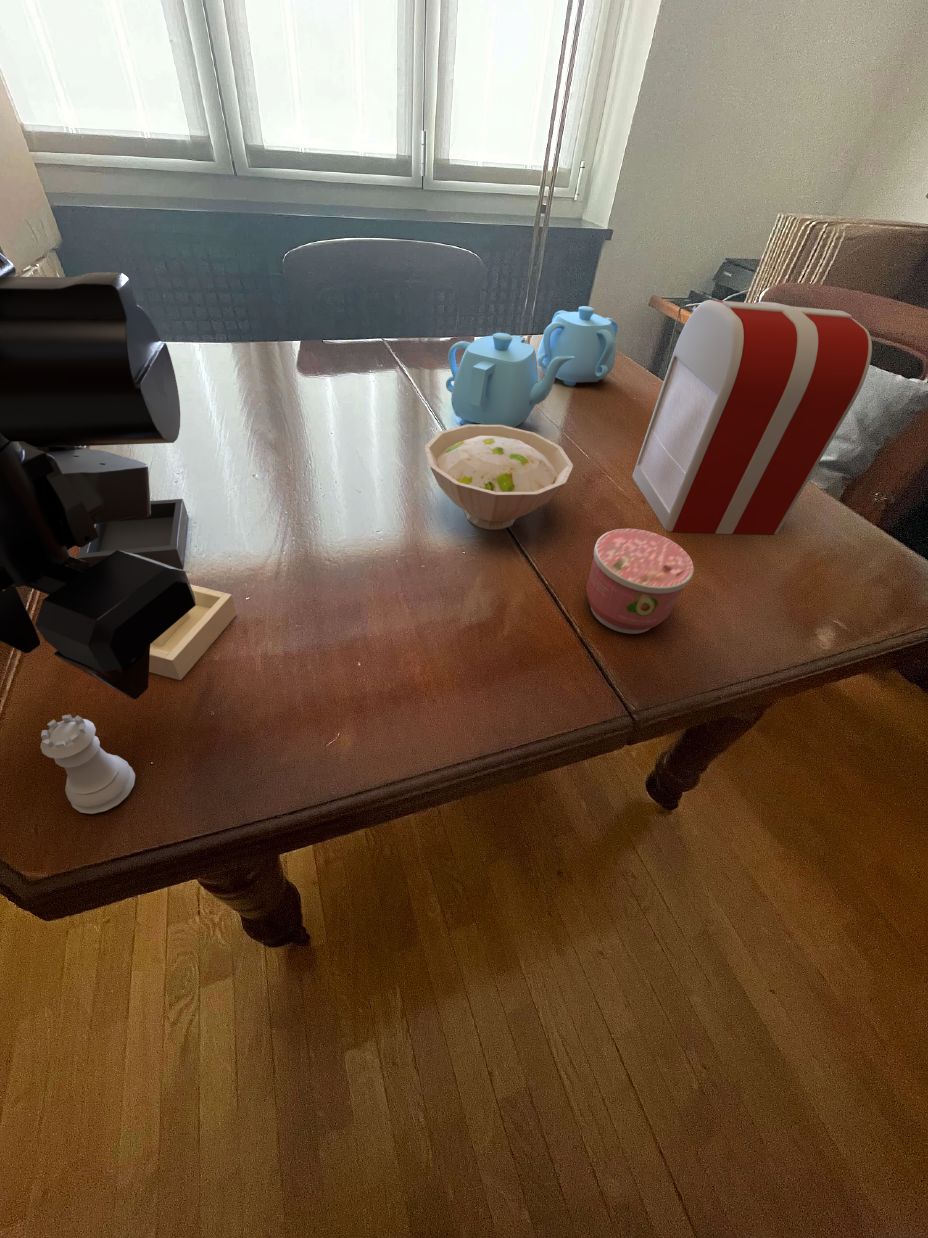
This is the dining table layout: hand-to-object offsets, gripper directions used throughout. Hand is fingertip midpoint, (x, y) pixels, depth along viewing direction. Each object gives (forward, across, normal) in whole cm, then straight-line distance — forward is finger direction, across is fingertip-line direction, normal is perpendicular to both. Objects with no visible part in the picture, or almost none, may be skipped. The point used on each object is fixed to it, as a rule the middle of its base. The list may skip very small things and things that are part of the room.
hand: (84, 670), depth 36 cm
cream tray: (+12, +11, -12) cm, 20 cm away
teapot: (+14, -2, -80) cm, 81 cm away
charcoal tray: (+12, +22, -22) cm, 34 cm away
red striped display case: (+15, -39, -69) cm, 81 cm away
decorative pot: (+15, -8, -112) cm, 113 cm away
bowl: (+14, -12, -50) cm, 53 cm away
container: (+14, -32, -38) cm, 52 cm away
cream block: (+11, +11, -12) cm, 20 cm away
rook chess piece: (+12, +2, +3) cm, 13 cm away
